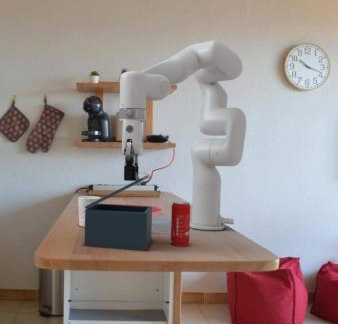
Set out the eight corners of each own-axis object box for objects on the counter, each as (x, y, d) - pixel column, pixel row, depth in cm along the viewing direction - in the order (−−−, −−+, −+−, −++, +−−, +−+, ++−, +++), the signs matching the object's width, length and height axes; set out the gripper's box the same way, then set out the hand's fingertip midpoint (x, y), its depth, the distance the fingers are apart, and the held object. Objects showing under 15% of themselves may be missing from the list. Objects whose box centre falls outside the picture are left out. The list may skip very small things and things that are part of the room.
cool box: (151, 239, 117) (152, 206, 117) (145, 250, 103) (146, 213, 103) (96, 235, 121) (97, 203, 121) (84, 245, 108) (85, 209, 107)
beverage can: (178, 247, 108) (180, 204, 108) (167, 243, 113) (168, 201, 113) (193, 245, 111) (194, 203, 110) (180, 241, 115) (182, 201, 115)
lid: (148, 177, 117) (140, 160, 117) (143, 180, 103) (133, 161, 104) (97, 203, 121) (89, 187, 121) (85, 209, 107) (76, 191, 108)
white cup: (97, 228, 133) (98, 199, 132) (75, 226, 134) (75, 198, 134) (101, 224, 140) (102, 196, 140) (80, 222, 142) (80, 195, 142)
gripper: (142, 113, 101) (140, 182, 102) (148, 118, 118) (147, 178, 118) (113, 113, 103) (112, 181, 104) (124, 118, 120) (123, 177, 120)
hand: (131, 179), depth 111 cm, fingers closed on lid, 5 cm apart
